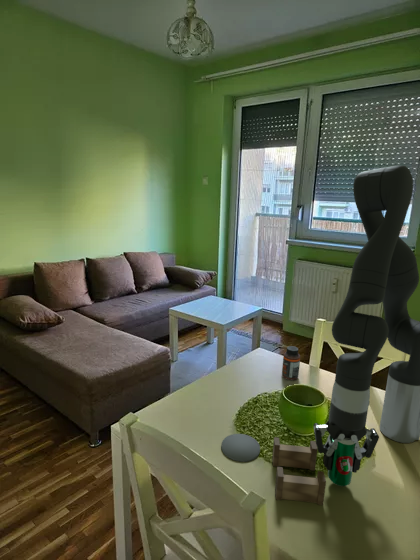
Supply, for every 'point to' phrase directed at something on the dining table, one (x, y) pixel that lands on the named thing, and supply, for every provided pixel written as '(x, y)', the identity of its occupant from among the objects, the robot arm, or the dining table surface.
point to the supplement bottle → (291, 363)
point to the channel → (297, 485)
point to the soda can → (342, 462)
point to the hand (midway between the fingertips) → (340, 468)
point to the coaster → (240, 447)
